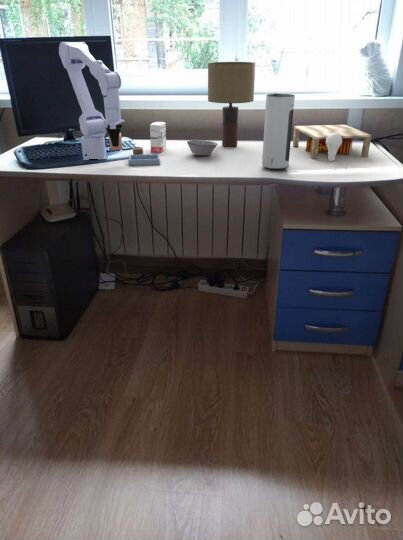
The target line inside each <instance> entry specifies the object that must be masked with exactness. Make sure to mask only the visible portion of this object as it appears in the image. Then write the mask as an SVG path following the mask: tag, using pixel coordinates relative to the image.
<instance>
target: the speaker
mask: <svg viewBox="0 0 403 540" xmlns="http://www.w3.org/2000/svg"><path fill="white" fill-rule="evenodd" d="M295 97H296V95H295V94H291V93H278V92H277V93H276V92H274V93H268V94H266V96H265V108H264V109H265V110H264V112H265V113H264V126H263V128H264V129H263V143H262V159H261V160H262V161H261V165H262V167H264V168H267V169H274V170H277V169H278V170H279V169H280V170H281V169H285V168H288V167H289V165H290V156H291V155H290V153H291V145H292V144H291V143H292V142H291V141H292V131H293V121H294V109H295Z"/></svg>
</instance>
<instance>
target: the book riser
mask: <svg viewBox="0 0 403 540" xmlns="http://www.w3.org/2000/svg"><path fill="white" fill-rule="evenodd" d="M293 128H294V129H293V139H292V146H293V147H294V146H298V147H299V141H300V132H301V133H302V134H305V135H307V136H308V137H309V138H310V137H312V138H313V141H312V150H311V151H310V158H311V160H317V159H318V154H319V152H318V146H319V139H326V138H327V137H328V136H329V135H330V134H332V133H337V134H339V135H340V136H341V138H353V139H354V138H355V139H356V138H359V139H360V138H363V144H362V147H361V154H360V156H361V157H362V158H368V157H369V151H370V147H371V142H372V141H371V140H372V134H370V133H367V132H365V131H362V130H360V129H357V128H354V127H353V126H350V125H347V124H321V125H320V124H319V125H314V124H313V125H294V127H293Z"/></svg>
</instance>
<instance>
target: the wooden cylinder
mask: <svg viewBox="0 0 403 540" xmlns="http://www.w3.org/2000/svg"><path fill="white" fill-rule="evenodd" d="M108 139H109V148H110V150H111V151H120V150H123V141H122V132H121V131H120V134H119V145H118V147H113V146H112V143H111V139H110V136H109V135H108Z"/></svg>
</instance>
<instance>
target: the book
mask: <svg viewBox="0 0 403 540" xmlns="http://www.w3.org/2000/svg"><path fill="white" fill-rule="evenodd" d="M312 141H313V138H312V137H310V136H309V138H308V139H307V140H306V145H305V146H306V147H305V151H306V152H311V150H312ZM353 142H354V138H342V143H341V145H340V147H339V148H338V150H337V153H336V154H338V153H342V154H343V155H350V153H351V151H352V149H353ZM325 152H328V148H327V145H326V139H319V146H318V153H325ZM342 154H341V155H342Z"/></svg>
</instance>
